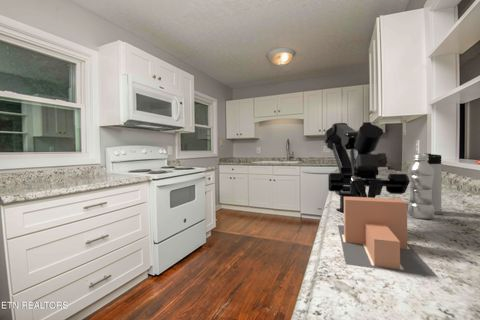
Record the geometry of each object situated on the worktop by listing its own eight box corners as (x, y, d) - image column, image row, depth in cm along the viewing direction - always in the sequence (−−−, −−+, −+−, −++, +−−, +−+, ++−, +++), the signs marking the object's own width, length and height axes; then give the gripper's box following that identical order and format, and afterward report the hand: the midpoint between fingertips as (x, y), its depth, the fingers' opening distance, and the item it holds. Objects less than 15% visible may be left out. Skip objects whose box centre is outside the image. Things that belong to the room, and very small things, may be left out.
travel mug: (438, 211, 77) (439, 153, 76) (443, 215, 71) (443, 153, 71) (416, 208, 80) (416, 153, 80) (418, 213, 75) (418, 154, 74)
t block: (344, 236, 56) (343, 196, 55) (401, 241, 51) (401, 198, 51) (350, 262, 42) (349, 210, 42) (427, 273, 38) (427, 215, 38)
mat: (337, 226, 64) (337, 225, 64) (395, 231, 59) (395, 229, 59) (345, 266, 42) (345, 264, 42) (438, 279, 37) (438, 276, 37)
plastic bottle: (412, 220, 67) (412, 154, 67) (404, 214, 74) (404, 154, 73) (438, 222, 65) (439, 154, 64) (428, 216, 72) (428, 154, 71)
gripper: (328, 144, 63) (329, 190, 53) (407, 142, 56) (425, 193, 46) (327, 169, 71) (329, 213, 61) (397, 170, 64) (411, 219, 54)
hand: (369, 210), depth 55 cm, fingers closed
